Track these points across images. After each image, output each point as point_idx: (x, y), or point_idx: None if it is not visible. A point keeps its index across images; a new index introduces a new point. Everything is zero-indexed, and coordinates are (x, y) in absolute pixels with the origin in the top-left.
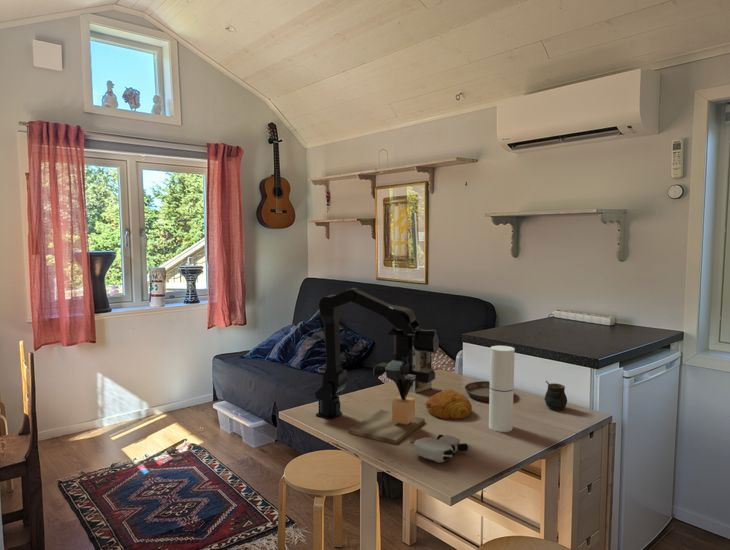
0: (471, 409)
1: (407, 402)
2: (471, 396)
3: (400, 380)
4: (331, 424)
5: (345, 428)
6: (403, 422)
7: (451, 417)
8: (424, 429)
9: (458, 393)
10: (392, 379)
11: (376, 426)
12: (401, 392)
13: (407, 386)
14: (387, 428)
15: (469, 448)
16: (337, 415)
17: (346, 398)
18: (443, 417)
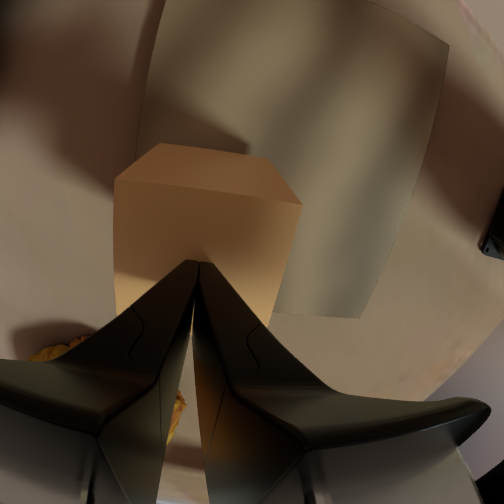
0: None
1: (125, 200)
2: None
3: (236, 459)
4: (501, 136)
5: (460, 100)
6: (186, 146)
7: (69, 347)
8: (99, 200)
9: None
10: (440, 407)
11: (344, 99)
12: (210, 298)
13: (77, 348)
14: (275, 85)
15: None
16: (493, 220)
17: (452, 362)
18: (84, 337)
